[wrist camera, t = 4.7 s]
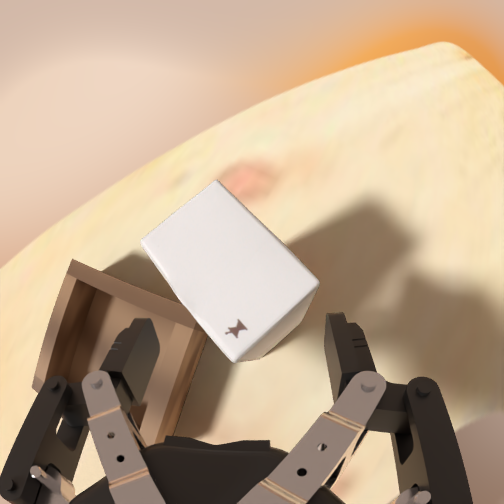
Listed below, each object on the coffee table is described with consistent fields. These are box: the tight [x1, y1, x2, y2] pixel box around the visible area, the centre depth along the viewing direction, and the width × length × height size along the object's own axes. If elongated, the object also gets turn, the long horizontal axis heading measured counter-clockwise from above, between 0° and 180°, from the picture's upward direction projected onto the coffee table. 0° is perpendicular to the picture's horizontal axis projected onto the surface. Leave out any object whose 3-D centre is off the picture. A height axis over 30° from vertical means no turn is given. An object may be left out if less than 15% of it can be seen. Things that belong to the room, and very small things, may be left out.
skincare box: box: [140, 180, 320, 363], centre depth 17 cm, size 6×4×12 cm
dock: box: [32, 259, 208, 447], centre depth 20 cm, size 11×13×4 cm
